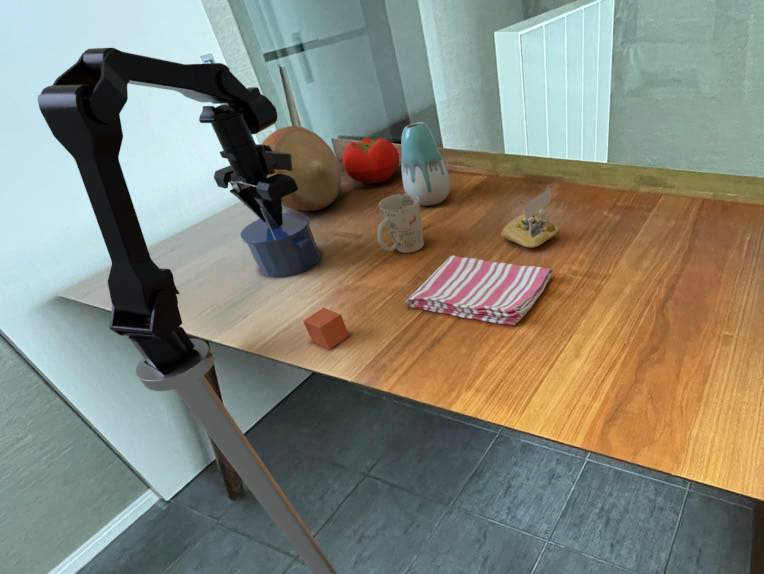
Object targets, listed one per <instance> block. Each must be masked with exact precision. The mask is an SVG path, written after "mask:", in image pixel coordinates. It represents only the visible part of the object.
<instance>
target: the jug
mask: <svg viewBox="0 0 764 574" xmlns="http://www.w3.org/2000/svg"><path fill="white" fill-rule="evenodd" d="M261 144H262V145H269V146H270V147H271V149H272V151H278V152H284V153H289V154H291V161H292V171H287V170H275V169H274V171H275V173H274V174H271V175H267V178H268V177H271V176H273V175H275V174H278V173H279V174H283V175H288V176H290V177H292V178H294V179H295V181H296V183H297V186H298V188H299V189H298V190H297V191H295V192H293V193H291V194H289V195H286V196H284V197H282V206H283V207H285V208H288V209H292V210H297V211H303V212H310V211H311V212H314V211H319V210H322V209H324V208H326V207H329V206H330V205H331V204H332V203H333V202H334V201H335V200H336V198H337V197H338V194H339V192H340V187H341V183H342V182H341V170H340V166H339V161H338V159H337V157H336V154H335V153H334V151H333V149H332V148H331V147H330V145H328V144H327V142H326V141H325V140H324V139H323V138H322V137H321V136H319V135H318V134H317V133H315V132H314V131H311V130H309V129H307V128H305V127H302V126H297V125H289V126H288V125H287V126H284V127H282V128H281V127H280V128H279V129H276V130H274V131H273V132H272V133H270V134H269V135H268V136H267V137H266V138H265V139H264V140H263V141H262V142H261Z"/></svg>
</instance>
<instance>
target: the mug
mask: <svg viewBox="0 0 764 574" xmlns="http://www.w3.org/2000/svg"><path fill="white" fill-rule="evenodd" d="M378 209H379V211H380V214H381V216H382V219H383V220H381V221H380V223H379V224H378V227H377V241H378V244H379V246H380V248H381V249H382V250H384V251H385V252H393V251H395V250H396V251H398V252H399V253H403V254H409V253H415V252H417V251H420V250H421V249H422V248H423V247H424V245H425V239H424V231H423V221H422V213H421V205H420V203H419V198H418V197H417V196H416V195H413V194H406V193H398V194H393V195H390V196H387V197H385V198H383V199H382V200H381V201H379V203H378ZM385 228H387V230H388V233H389V235H390V237H391V239H392V242H393V244H392V245H391V246H388V245H387V244H386V243H385V240H384V236H383V235H384V229H385Z"/></svg>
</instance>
